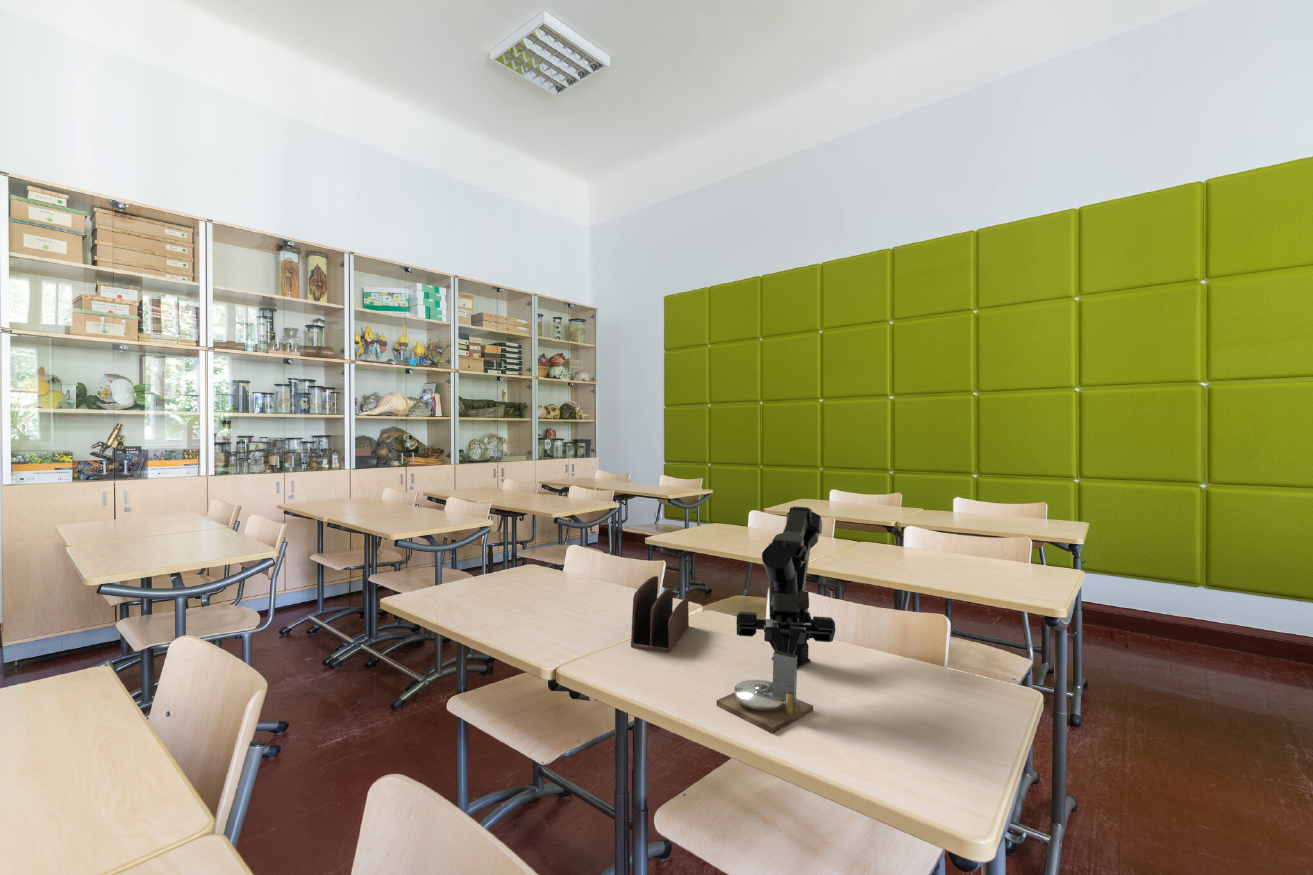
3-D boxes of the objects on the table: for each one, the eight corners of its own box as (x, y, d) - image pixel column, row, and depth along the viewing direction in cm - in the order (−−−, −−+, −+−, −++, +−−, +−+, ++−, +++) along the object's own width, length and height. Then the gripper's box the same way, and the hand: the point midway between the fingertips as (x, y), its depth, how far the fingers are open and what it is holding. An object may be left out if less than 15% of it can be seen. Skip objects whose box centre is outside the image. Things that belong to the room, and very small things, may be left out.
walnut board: (716, 705, 104) (717, 681, 104) (757, 686, 113) (758, 664, 113) (772, 733, 95) (772, 707, 95) (813, 711, 103) (813, 686, 103)
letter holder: (630, 648, 133) (631, 589, 133) (654, 622, 152) (655, 571, 152) (670, 653, 130) (671, 594, 130) (689, 626, 149) (690, 574, 149)
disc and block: (725, 700, 102) (726, 651, 102) (746, 681, 111) (747, 635, 111) (786, 718, 96) (787, 665, 96) (802, 696, 105) (803, 648, 105)
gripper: (737, 571, 109) (734, 649, 98) (835, 576, 105) (843, 658, 95) (737, 597, 117) (735, 672, 106) (828, 603, 114) (835, 680, 103)
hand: (785, 670), depth 103 cm, fingers closed
